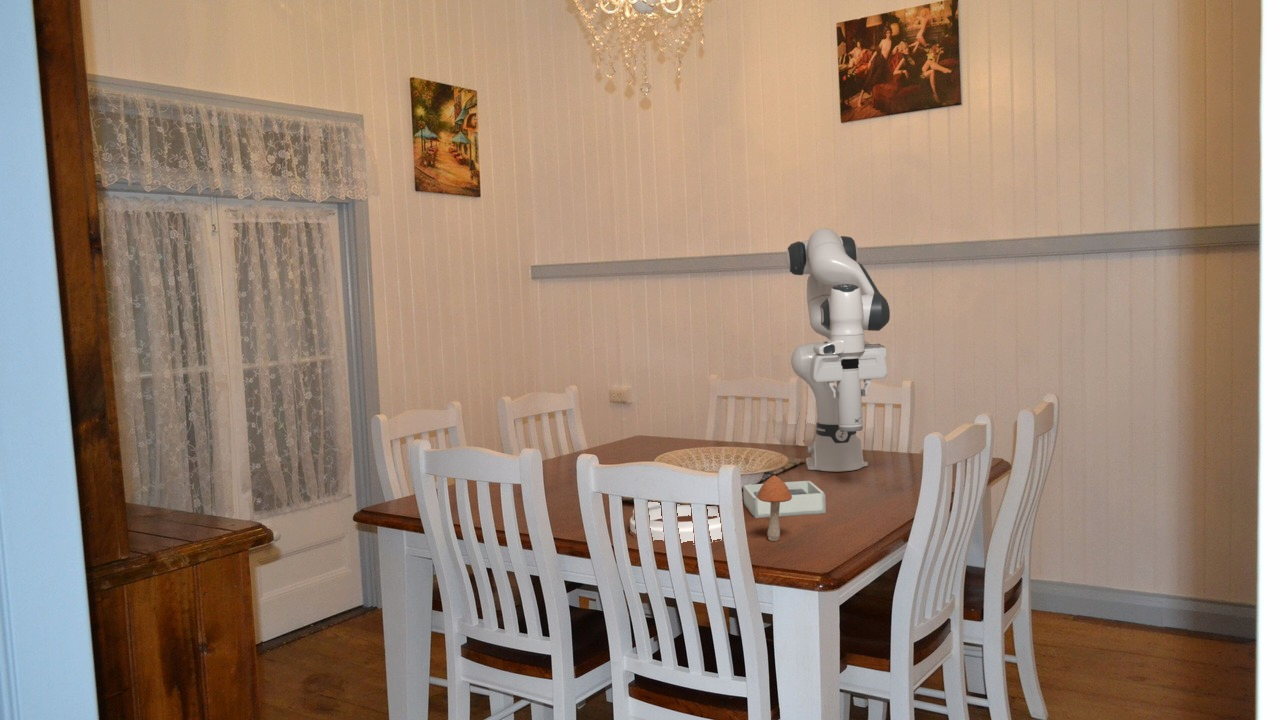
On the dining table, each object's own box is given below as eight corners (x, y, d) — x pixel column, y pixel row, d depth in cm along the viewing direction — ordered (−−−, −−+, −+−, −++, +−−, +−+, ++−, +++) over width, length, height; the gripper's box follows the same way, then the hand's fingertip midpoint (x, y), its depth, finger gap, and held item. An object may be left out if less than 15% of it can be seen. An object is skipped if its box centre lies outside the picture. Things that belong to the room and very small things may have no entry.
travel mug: (864, 431, 250) (861, 356, 249) (838, 432, 251) (835, 357, 250) (863, 427, 256) (860, 354, 255) (839, 428, 257) (835, 355, 256)
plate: (615, 526, 237) (614, 504, 237) (713, 511, 246) (712, 491, 246) (654, 552, 212) (652, 528, 212) (761, 535, 221) (760, 512, 221)
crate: (743, 503, 252) (743, 485, 252) (810, 498, 253) (809, 480, 253) (755, 518, 236) (754, 498, 236) (825, 513, 237) (825, 493, 237)
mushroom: (801, 539, 214) (798, 474, 213) (775, 547, 210) (772, 480, 209) (777, 533, 221) (774, 470, 220) (751, 540, 216) (748, 475, 215)
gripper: (882, 342, 255) (883, 393, 257) (807, 347, 254) (809, 397, 255) (889, 343, 249) (891, 395, 250) (813, 348, 248) (815, 400, 249)
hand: (849, 397), depth 253 cm, fingers closed on travel mug, 6 cm apart
